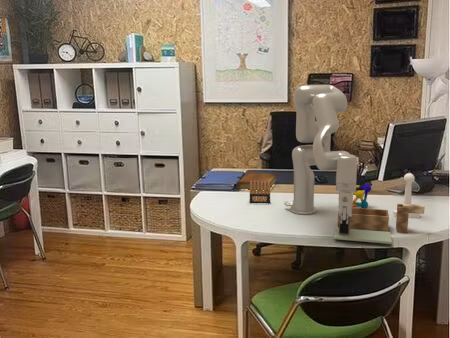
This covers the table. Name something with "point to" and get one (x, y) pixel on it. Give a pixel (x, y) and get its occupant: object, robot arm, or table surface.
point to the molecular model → (361, 196)
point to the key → (415, 208)
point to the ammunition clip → (259, 193)
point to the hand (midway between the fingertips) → (344, 230)
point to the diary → (256, 180)
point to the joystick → (408, 195)
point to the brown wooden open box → (378, 219)
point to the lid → (363, 235)
